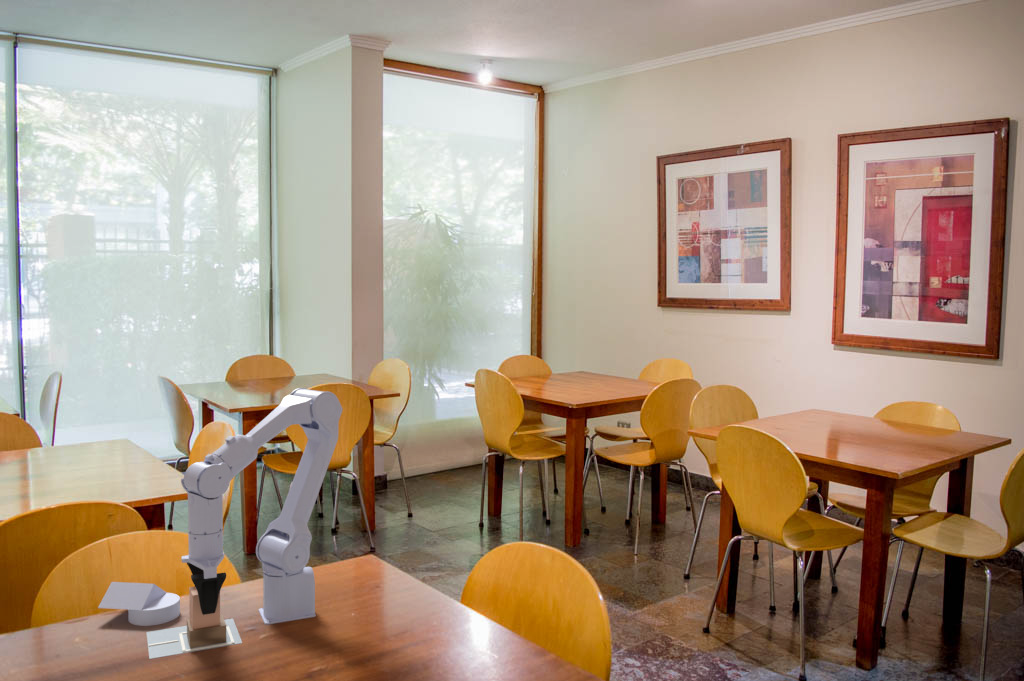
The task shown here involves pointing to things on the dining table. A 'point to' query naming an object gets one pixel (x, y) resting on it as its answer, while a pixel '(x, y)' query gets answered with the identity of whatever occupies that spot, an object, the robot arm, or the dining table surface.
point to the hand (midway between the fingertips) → (206, 605)
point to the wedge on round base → (142, 602)
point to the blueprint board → (184, 640)
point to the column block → (196, 614)
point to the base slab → (206, 634)
